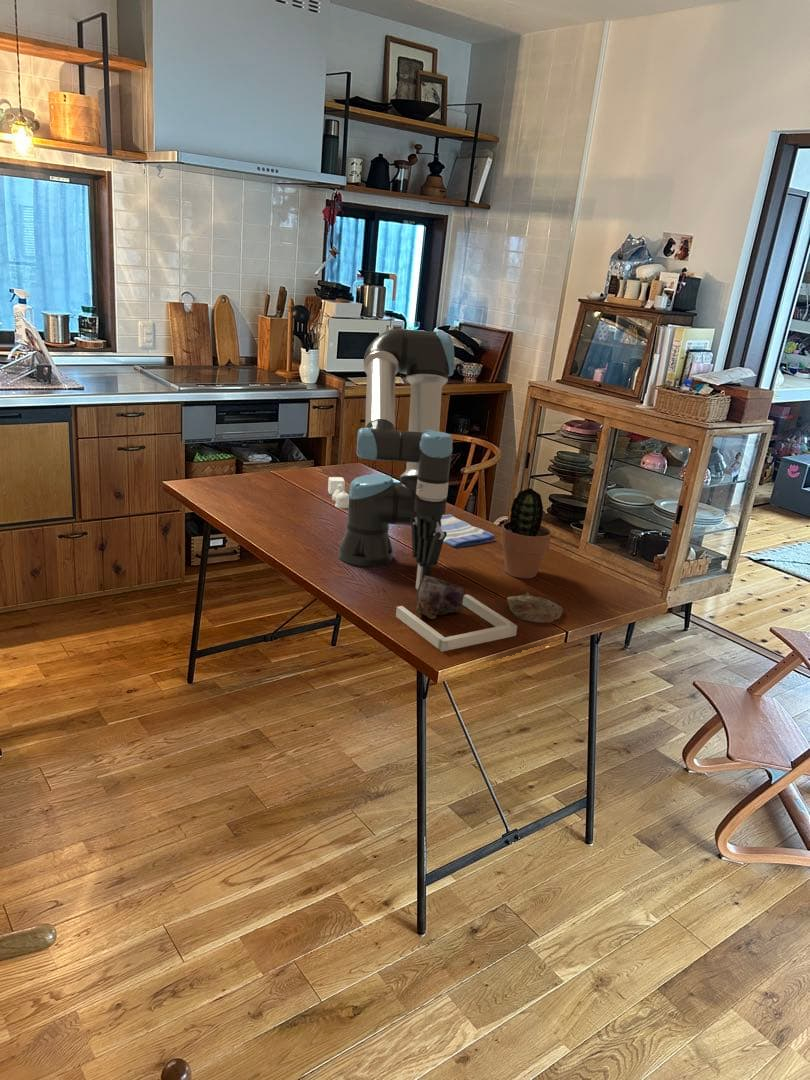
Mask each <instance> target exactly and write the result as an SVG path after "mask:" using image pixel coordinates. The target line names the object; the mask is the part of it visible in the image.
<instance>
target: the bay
mask: <svg viewBox="0 0 810 1080" xmlns="http://www.w3.org/2000/svg"><path fill="white" fill-rule="evenodd" d="M462 606H464V607H465V608H467V609H468V610H470V611H471V612H472V613H473V614H474V613H475V614H476V615H477V616H479V617H480V618H482V619H483V620H485V621H486V622H488V623H489V624H491V625H492V626H493V627H489V628H484V629H479V630H475V631H474V630H473V631H470V632H469V631H468V632H466V633H465V632H464V633H461V634H456V635H455V634H454V635H450V636H443V634H441V633H439V632H438V631H437V630H436V629H434V628H433V627H432V626H430V625H429V624H428V623H426V622H425V621H423V620H422V619H420V617H418V616H416V615H415V614H414V613H412V612H411V611H410V610H408V609H407V608H406V607H404V606H403V605H399V606H396V610H395V617H396V618H397V619H399V620H400V621H402V622H403V623H404V624H405V625H406V626H408V627H409V628H410V629H412V630H413V631H414V632H415V633H417V634H418V635H419V636H421V637H422V638H423V639H424V640H426V641H427V642H429V643H430V644H431V645H433V647H435V648H436V649H438V650H439V651H440V652H442V653H443V652H447V651H450V650H456V649H461V648H466V647H469V646H474V645H479V644H485V643H488V642H494V641H498V640H503V639H507V638H511V637H515V636H517V632H518V625H517V624H515V623H513V622H512V621H510V620H509V619H507V618H506V617H504V616H503V615H501V614H499V613H498V612H496V611H495V610H493V609H491V608H490V607H488V606H487V605H485V604H484V603H483V602H481V601H479V600H478V599H476V598H475V597H473V596H471V595H470V594H464V597H463V603H462Z"/></svg>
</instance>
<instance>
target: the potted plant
mask: <svg viewBox="0 0 810 1080" xmlns="http://www.w3.org/2000/svg"><path fill="white" fill-rule="evenodd" d="M543 515H544V505H543V501H542V496H541V494H540V493H538V491H536V490H534V489H532V488H531V487H530V488H527V489H523V490H522V491H519V492H518V493H517V495H516V497H514V498H513V502H512V506H511V509H510V519H509V520H510V521H507V522H504V523H503V524H502V525H501V535H500V536H501V537H500V543H501V545H502V548H503V561H504V572H505V573H506V574H507V575H509V576H511V577H515V578H519V579H532V578H534V577H536V576H537V574H538V571H539V569H540V566H541V563H542V560H543V559H544V556H545V552H546V551H548V549H549V548H550V547H549V546H550V542H551V538H552V537H551V536H552V533H553V531H552V530H551V529H550V528H549V527H548V526H546V525H543V524H542V519H543V518H542V517H543Z"/></svg>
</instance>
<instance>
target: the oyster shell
mask: <svg viewBox="0 0 810 1080" xmlns="http://www.w3.org/2000/svg"><path fill="white" fill-rule="evenodd" d="M506 601H507V605H508V606H509V610H510V612H511V613H512V615H513V616H514V617H516V618H518V619H520V620H524V621H528V622H531V623H538V624H539V623H541V624H543V623H545V624H546V623H553V622H554V621H556V620H559V619H560V618H561V616H563V612H564V608H563V607H562V606H561V605H560V604H559V605H558V604H557V603H556V602H553V601H551V600H550V599H547V598H545V597H542V596H534V595H532V594H531V593H530V592H528V591H526V593H525V594H522V595H512V596H511V595H510V596H507V598H506Z"/></svg>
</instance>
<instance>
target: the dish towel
mask: <svg viewBox="0 0 810 1080" xmlns="http://www.w3.org/2000/svg"><path fill="white" fill-rule="evenodd" d="M441 529H442V531H443V532H446V533H447V536H446V537H445V539H444V540H443V543H444V544H446V545H447V546H450V547H452V548H454V549H455V548H456V549H457V548H462V547H470V546H475V545H477V546H478V545H482V544H486V543H493V542H495V540H494V539H495V538H496V536H495V534H493V533H492V532H489V531H487V530H484V529H482V528H480V527H476V526H473V525H471V524H470V523H468V522H466V521H464V520H462V519H459V518H457V517H455V516H454V515H453V514H450V513H449V514H444V515H442V519H441Z"/></svg>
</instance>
